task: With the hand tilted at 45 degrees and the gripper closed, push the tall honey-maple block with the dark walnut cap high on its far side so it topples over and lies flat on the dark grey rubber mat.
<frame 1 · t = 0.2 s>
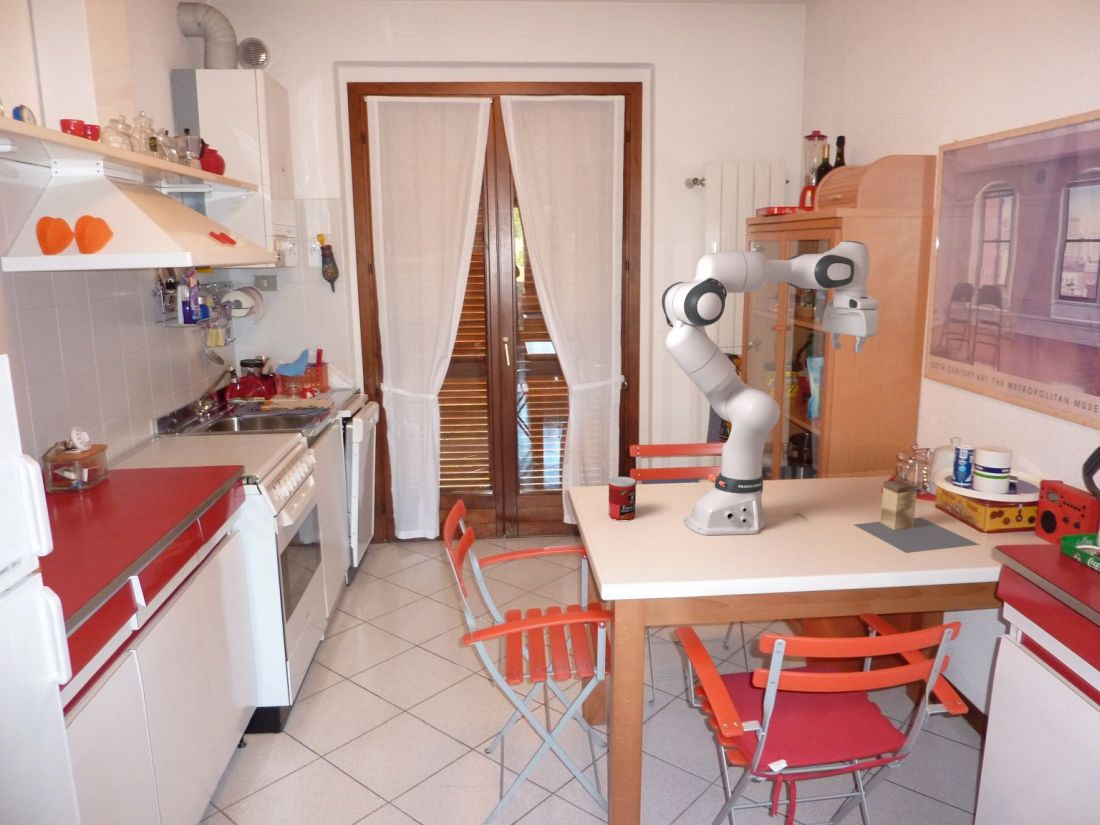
hand: (846, 351, 224), 48 cm above the table, tool pointing down, fingers open, 8 cm apart
canned food: (621, 517, 232), on the table
maple block: (896, 525, 221), point 1 cm above the table, touching rubber mat
rubber mat: (913, 536, 215), on the table
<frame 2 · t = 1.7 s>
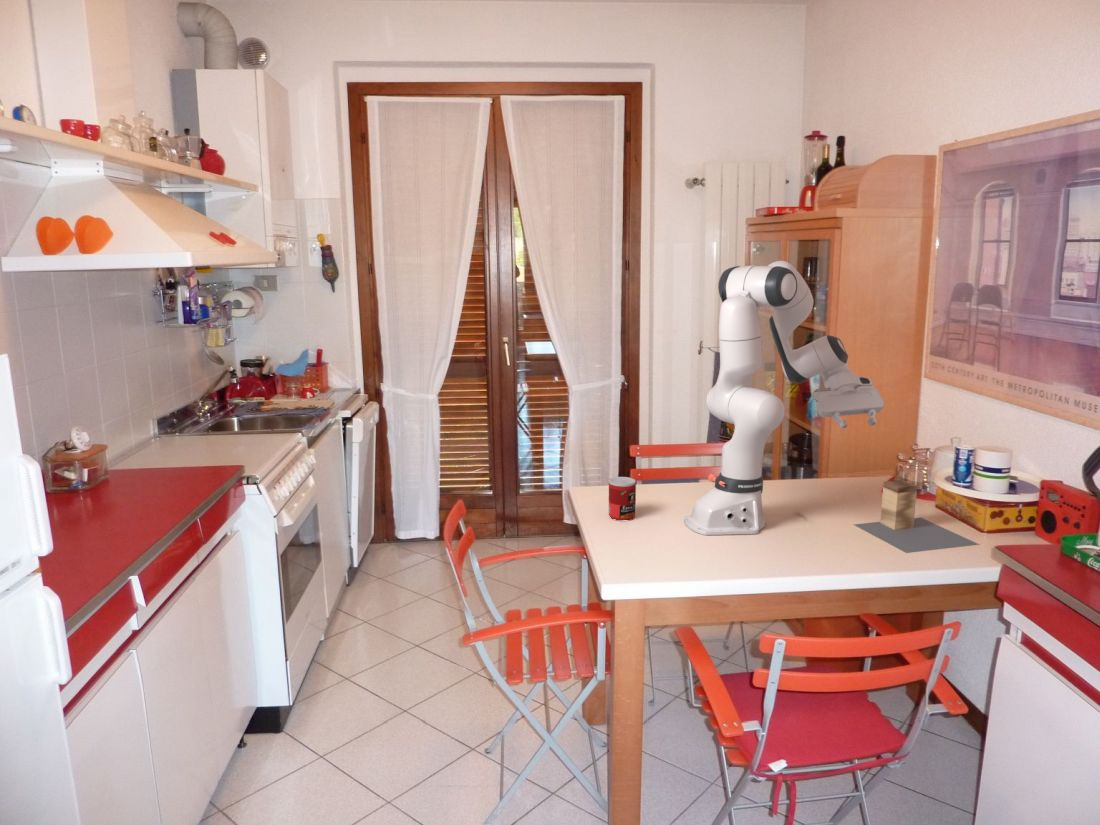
hand: (858, 425, 235), 25 cm above the table, tool tilted 45°, fingers open, 8 cm apart
nothing on the table moved.
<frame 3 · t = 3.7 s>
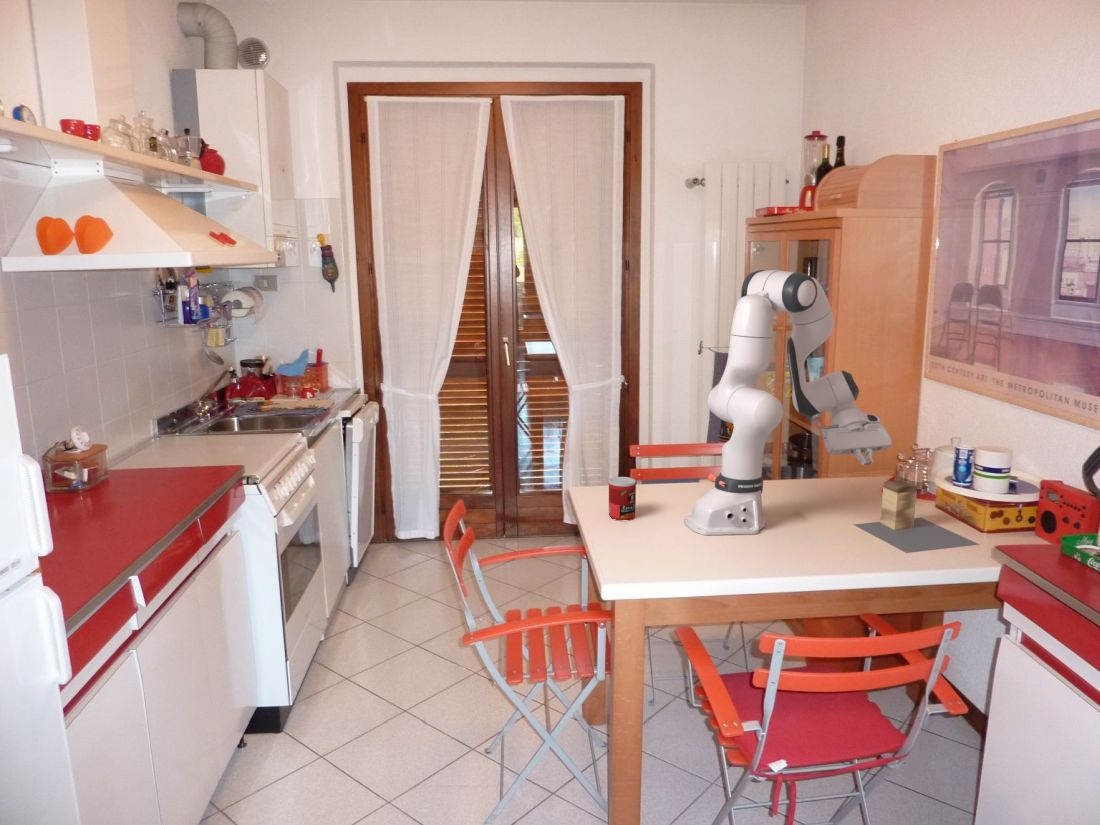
hand: (867, 463, 232), 14 cm above the table, tool tilted 45°, fingers closed
nothing on the table moved.
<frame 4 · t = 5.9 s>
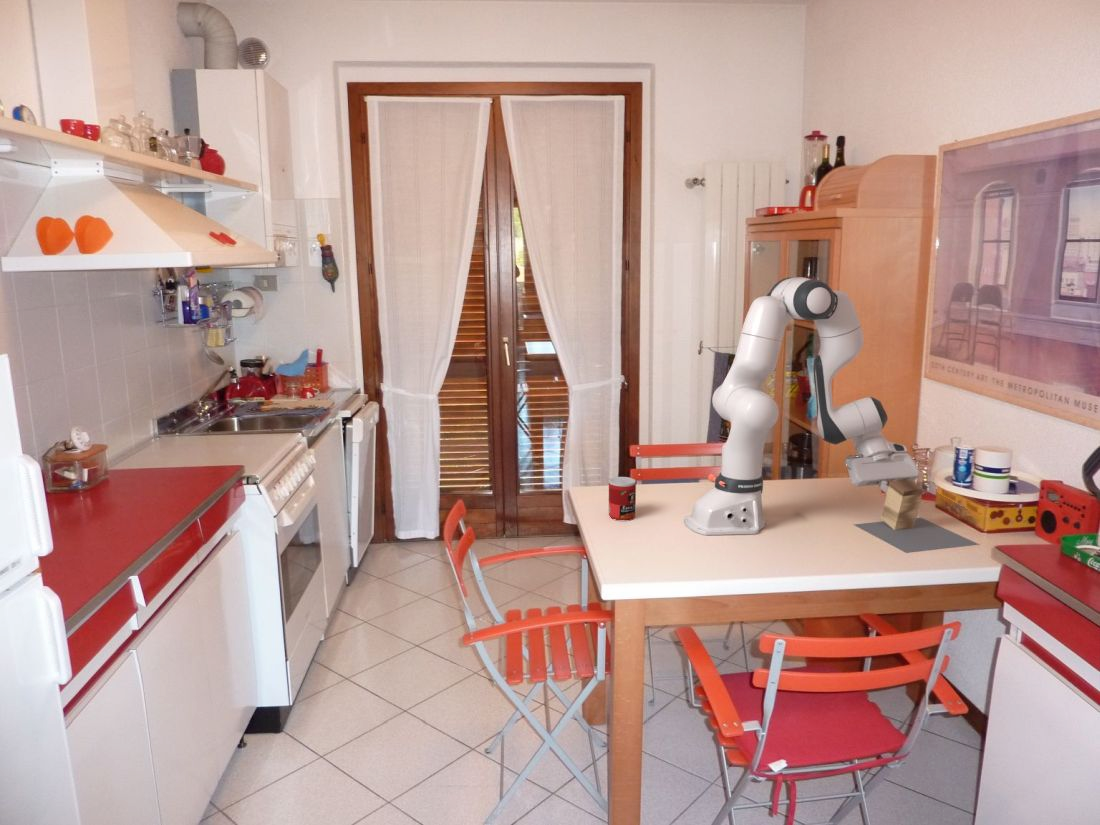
hand: (894, 496, 222), 8 cm above the table, tool tilted 45°, fingers closed
maple block: (897, 523, 221), point 1 cm above the table, tilted 12°, touching rubber mat
everything else where it was.
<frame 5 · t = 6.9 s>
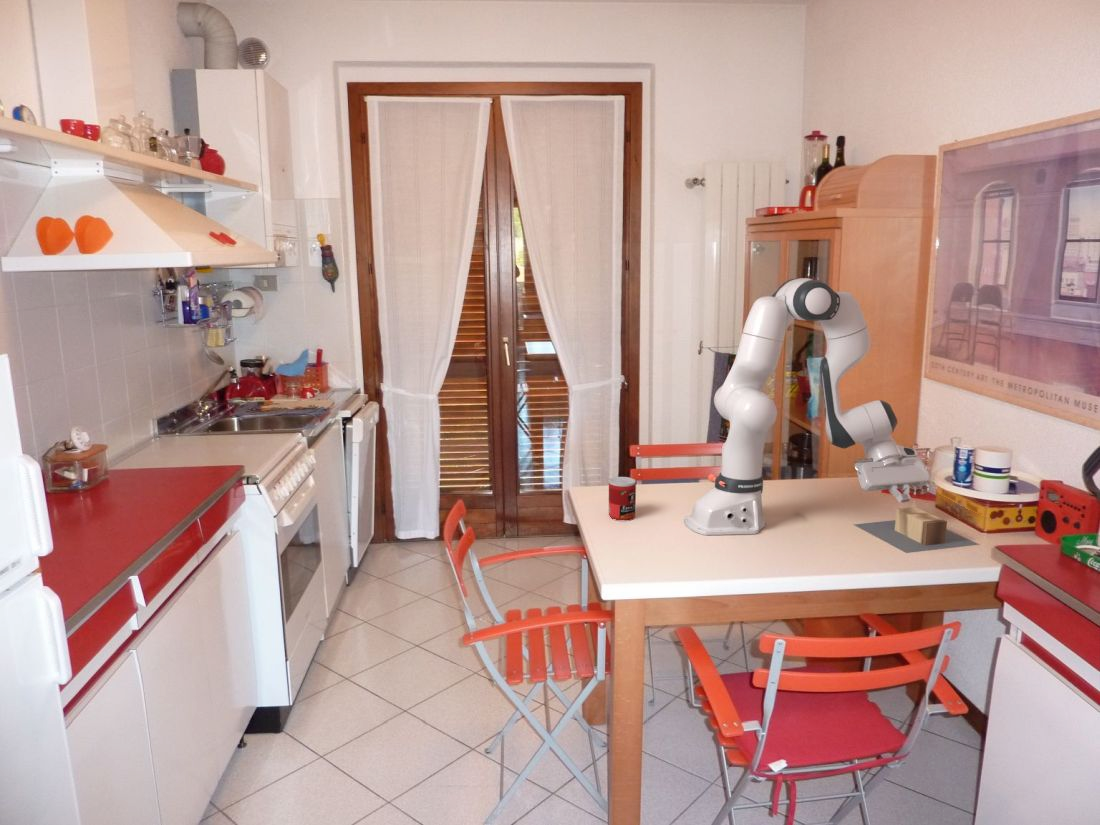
hand: (905, 501, 217), 8 cm above the table, tool tilted 45°, fingers closed
maple block: (904, 518, 218), point 4 cm above the table, tilted 90°, touching rubber mat
everything else where it was.
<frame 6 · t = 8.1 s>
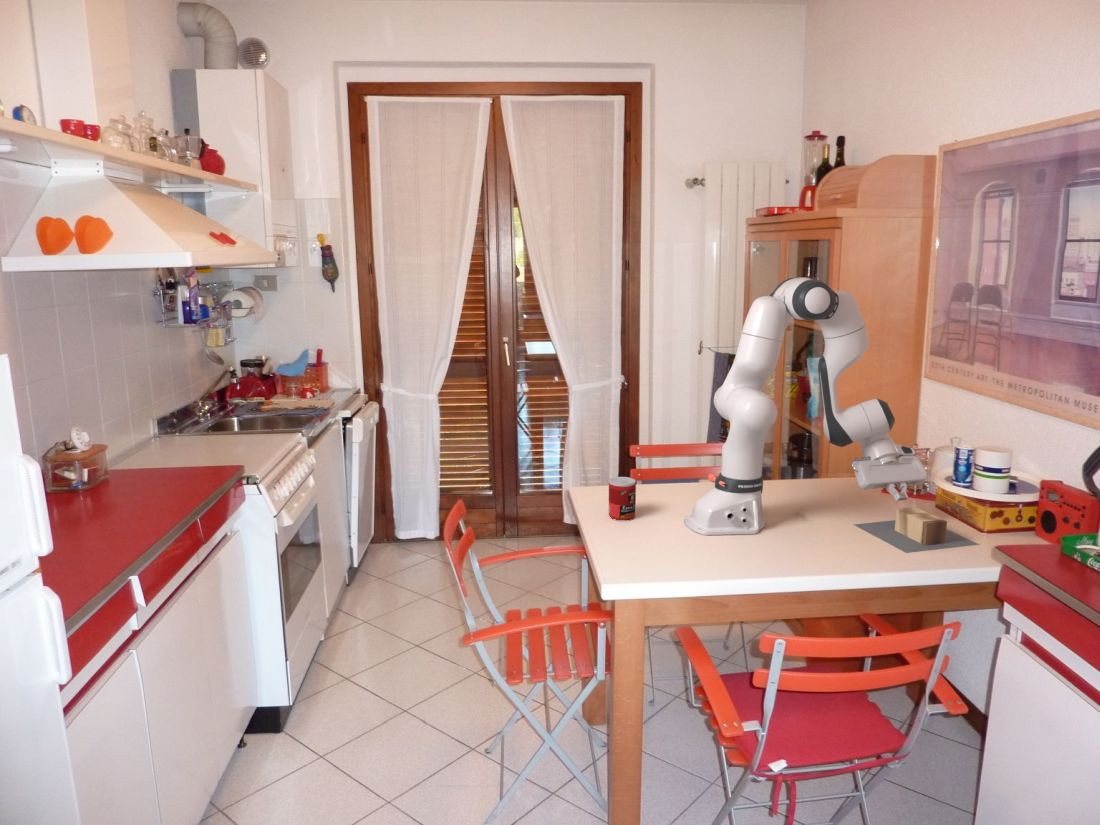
hand: (902, 499, 218), 9 cm above the table, tool tilted 45°, fingers closed
nothing on the table moved.
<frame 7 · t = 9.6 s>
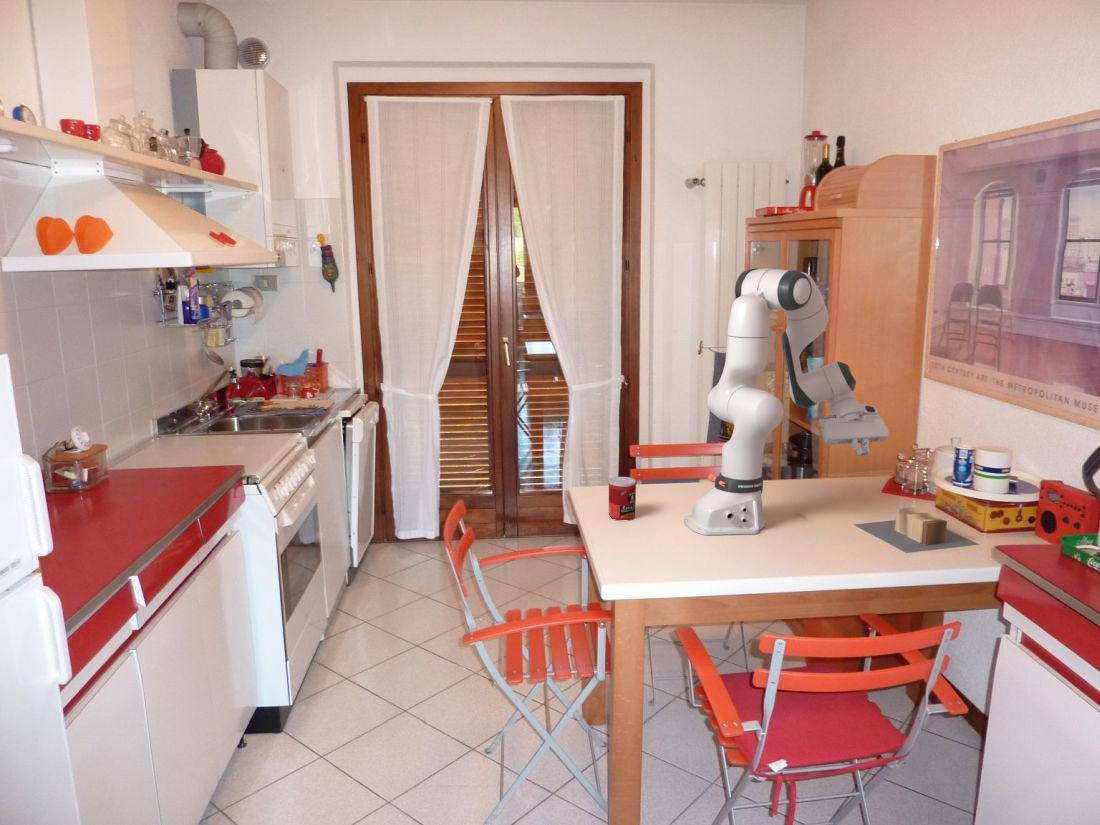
hand: (864, 454, 233), 17 cm above the table, tool tilted 45°, fingers closed
nothing on the table moved.
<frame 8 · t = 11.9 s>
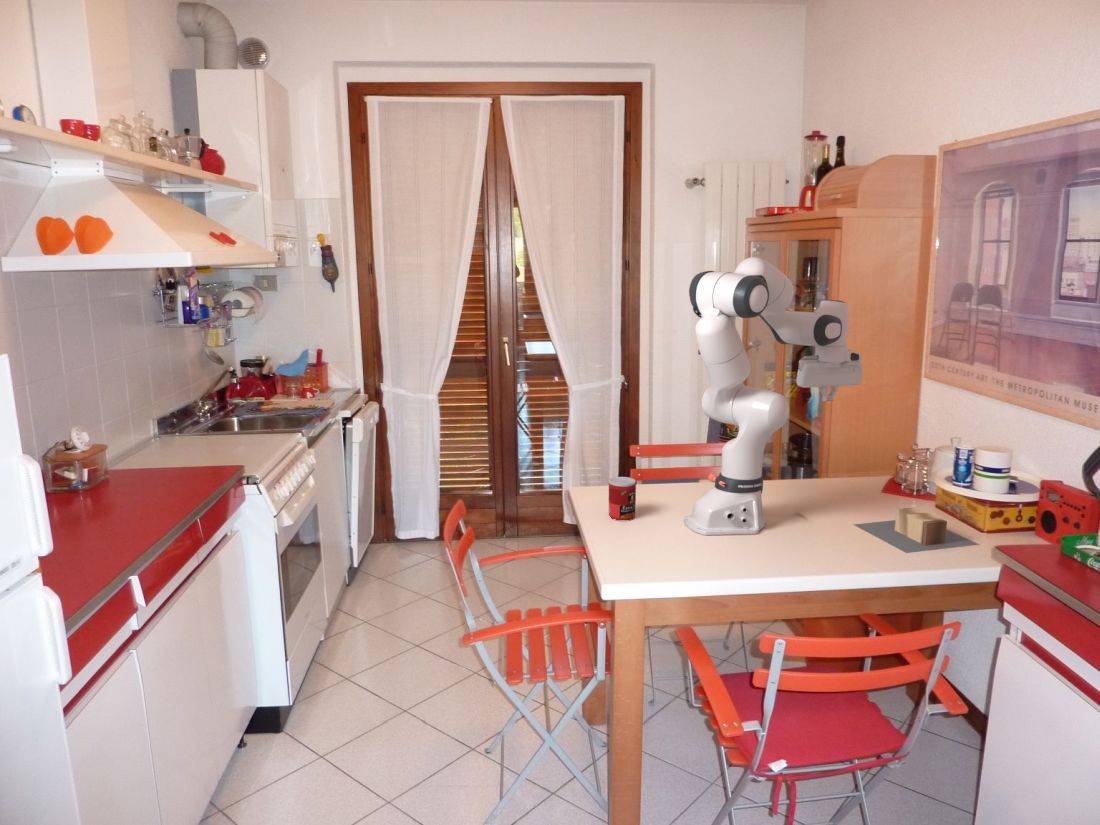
hand: (827, 400, 239), 31 cm above the table, tool pointing down, fingers closed
nothing on the table moved.
at the end: maple block tilted 90°; maple block inside the target area on the rubber mat (3.0 cm from its centre), point 3.6 cm above the rubber mat's base; maple block touching rubber mat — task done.
